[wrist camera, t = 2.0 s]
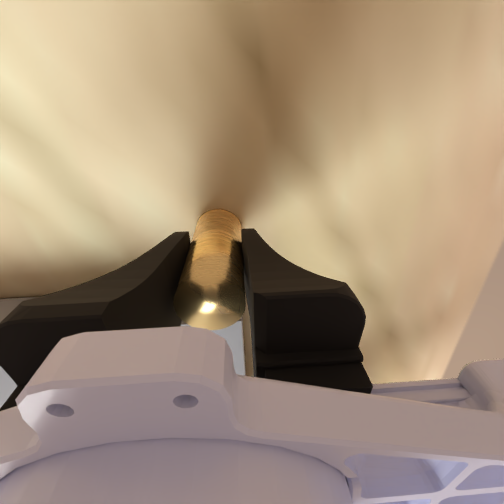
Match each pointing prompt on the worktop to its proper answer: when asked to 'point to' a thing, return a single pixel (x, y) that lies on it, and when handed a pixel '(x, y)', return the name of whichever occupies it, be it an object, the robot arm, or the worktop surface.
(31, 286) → the worktop surface
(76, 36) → the worktop surface
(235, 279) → the brass pin
